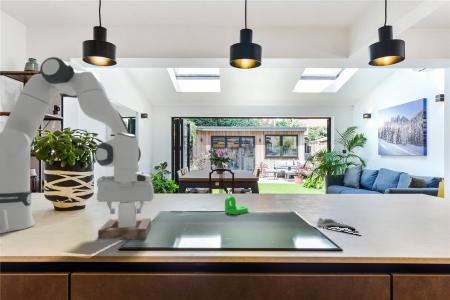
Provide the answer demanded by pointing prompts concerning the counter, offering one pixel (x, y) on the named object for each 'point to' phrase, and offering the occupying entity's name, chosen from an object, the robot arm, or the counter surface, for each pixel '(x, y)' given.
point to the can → (127, 214)
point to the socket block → (125, 230)
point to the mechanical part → (234, 206)
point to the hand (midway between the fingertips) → (125, 213)
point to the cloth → (333, 225)
